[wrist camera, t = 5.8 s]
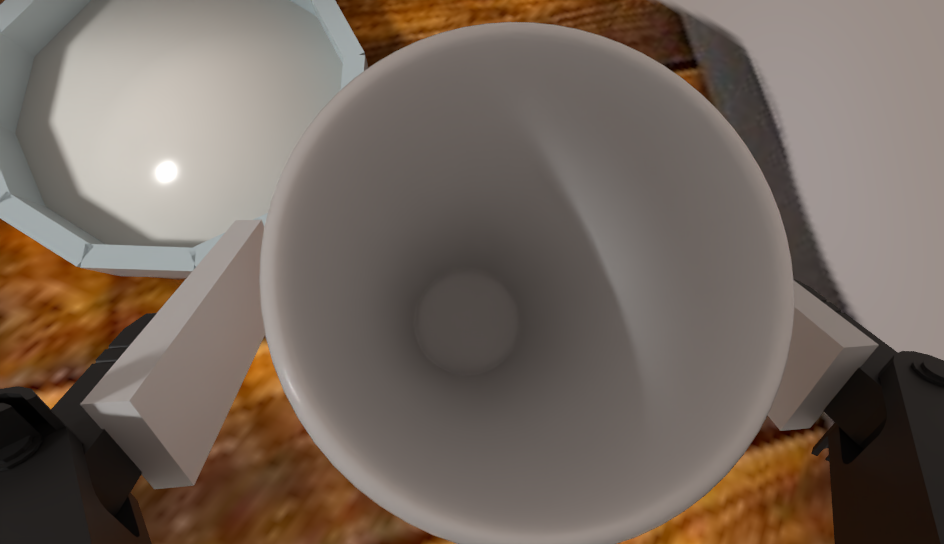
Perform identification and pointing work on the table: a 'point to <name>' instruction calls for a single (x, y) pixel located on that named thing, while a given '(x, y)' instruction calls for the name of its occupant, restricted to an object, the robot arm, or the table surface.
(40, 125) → the dish
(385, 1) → the table surface
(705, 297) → the drinking glass
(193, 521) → the table surface
